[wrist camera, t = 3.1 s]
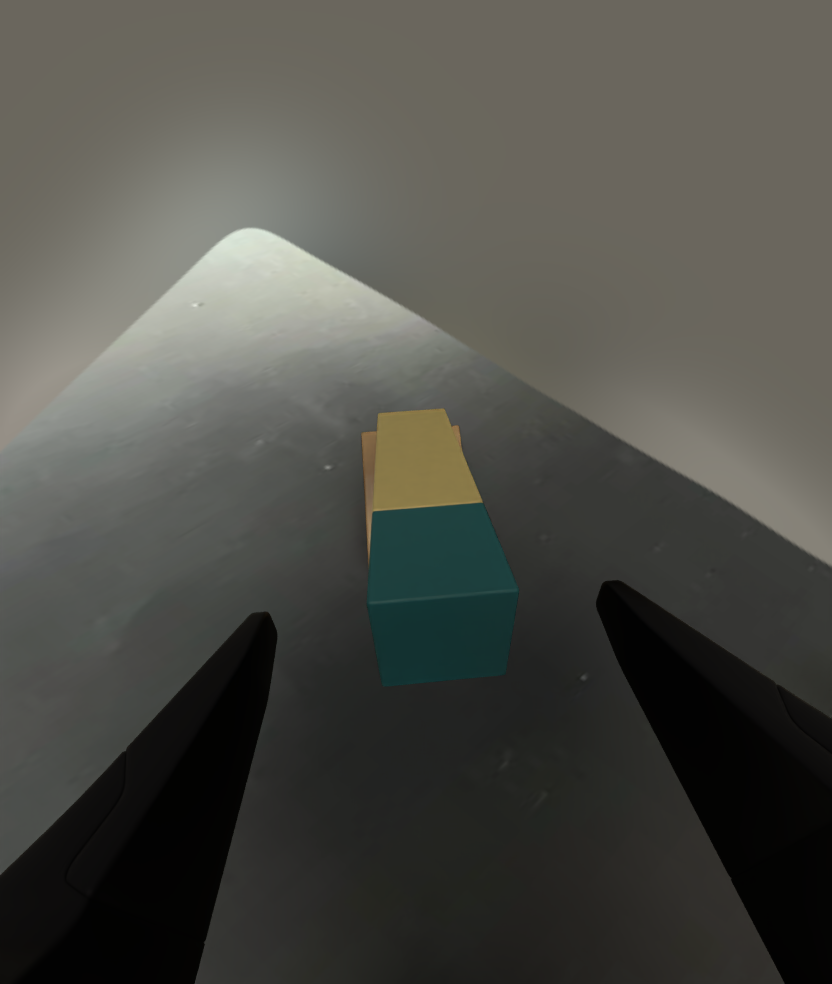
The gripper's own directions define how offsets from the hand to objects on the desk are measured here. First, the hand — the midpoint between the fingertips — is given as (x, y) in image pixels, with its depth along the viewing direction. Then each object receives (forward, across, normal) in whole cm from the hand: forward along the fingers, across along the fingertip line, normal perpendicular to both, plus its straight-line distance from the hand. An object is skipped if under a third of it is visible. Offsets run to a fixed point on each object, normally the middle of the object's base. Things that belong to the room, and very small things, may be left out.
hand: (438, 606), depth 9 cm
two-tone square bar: (+5, 0, 0) cm, 5 cm away
